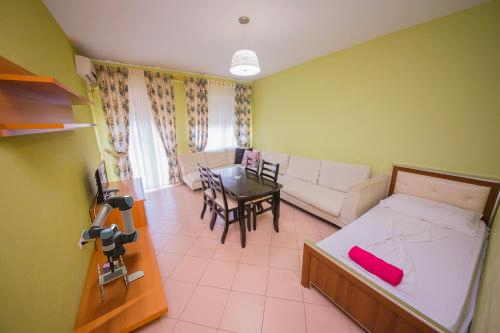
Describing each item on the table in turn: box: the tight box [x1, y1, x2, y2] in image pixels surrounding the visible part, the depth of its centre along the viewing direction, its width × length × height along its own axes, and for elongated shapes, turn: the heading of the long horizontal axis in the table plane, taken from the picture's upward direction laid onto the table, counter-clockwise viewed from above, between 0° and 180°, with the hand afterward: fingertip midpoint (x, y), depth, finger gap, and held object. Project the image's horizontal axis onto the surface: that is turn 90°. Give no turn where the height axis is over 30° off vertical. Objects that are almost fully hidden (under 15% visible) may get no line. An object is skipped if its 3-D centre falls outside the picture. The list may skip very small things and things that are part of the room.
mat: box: [128, 270, 145, 284], centre depth 160 cm, size 9×12×1 cm
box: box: [102, 260, 120, 274], centre depth 160 cm, size 10×6×12 cm, turn 117°
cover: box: [98, 265, 128, 287], centre depth 144 cm, size 11×18×5 cm, turn 133°
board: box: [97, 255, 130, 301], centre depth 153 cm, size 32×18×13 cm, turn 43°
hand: (113, 274), depth 142 cm, fingers closed
